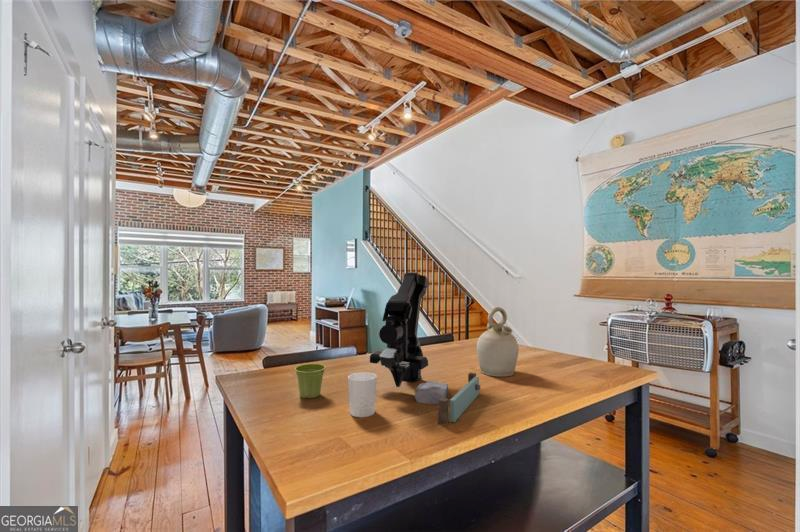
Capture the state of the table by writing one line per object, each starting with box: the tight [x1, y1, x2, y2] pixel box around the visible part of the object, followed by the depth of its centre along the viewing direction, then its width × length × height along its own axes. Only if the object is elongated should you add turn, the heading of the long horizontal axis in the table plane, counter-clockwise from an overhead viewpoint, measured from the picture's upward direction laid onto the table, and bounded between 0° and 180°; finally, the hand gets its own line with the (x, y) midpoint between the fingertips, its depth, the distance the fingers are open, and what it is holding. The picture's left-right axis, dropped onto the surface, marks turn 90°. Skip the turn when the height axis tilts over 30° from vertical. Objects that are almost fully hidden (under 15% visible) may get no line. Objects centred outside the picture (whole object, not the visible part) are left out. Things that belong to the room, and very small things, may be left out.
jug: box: [476, 306, 520, 378], centre depth 139 cm, size 15×16×25 cm
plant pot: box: [294, 363, 327, 399], centre depth 113 cm, size 9×9×9 cm
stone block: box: [414, 380, 449, 405], centre depth 112 cm, size 12×5×10 cm
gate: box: [449, 375, 481, 423], centre depth 103 cm, size 2×23×6 cm, turn 152°
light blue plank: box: [437, 372, 477, 426], centre depth 104 cm, size 2×28×6 cm, turn 153°
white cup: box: [347, 371, 378, 418], centre depth 99 cm, size 8×8×10 cm
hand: (398, 386), depth 117 cm, fingers closed
